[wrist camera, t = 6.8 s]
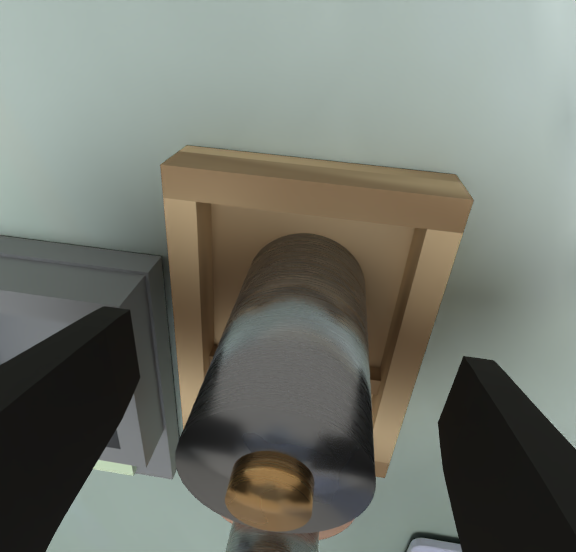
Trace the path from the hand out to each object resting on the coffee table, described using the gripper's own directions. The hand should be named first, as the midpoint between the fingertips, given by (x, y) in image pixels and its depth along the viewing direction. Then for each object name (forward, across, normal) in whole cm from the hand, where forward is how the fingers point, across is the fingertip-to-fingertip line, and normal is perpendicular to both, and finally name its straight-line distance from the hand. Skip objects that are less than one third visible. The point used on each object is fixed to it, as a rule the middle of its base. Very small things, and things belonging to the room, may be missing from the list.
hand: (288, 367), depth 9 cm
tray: (+4, 0, +2) cm, 4 cm away
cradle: (+4, +8, +5) cm, 10 cm away
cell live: (+3, 0, 0) cm, 3 cm away
